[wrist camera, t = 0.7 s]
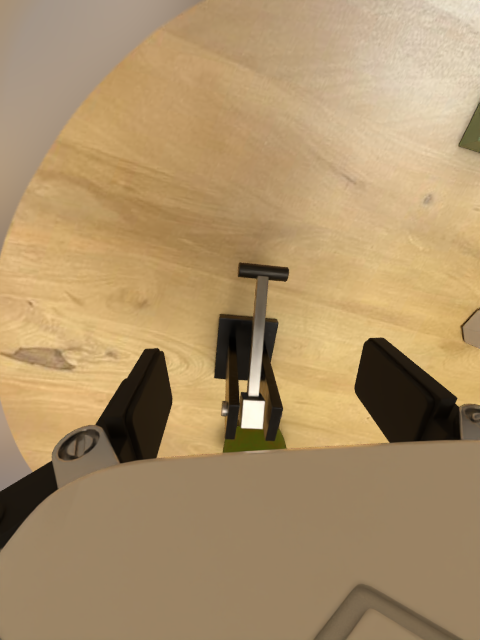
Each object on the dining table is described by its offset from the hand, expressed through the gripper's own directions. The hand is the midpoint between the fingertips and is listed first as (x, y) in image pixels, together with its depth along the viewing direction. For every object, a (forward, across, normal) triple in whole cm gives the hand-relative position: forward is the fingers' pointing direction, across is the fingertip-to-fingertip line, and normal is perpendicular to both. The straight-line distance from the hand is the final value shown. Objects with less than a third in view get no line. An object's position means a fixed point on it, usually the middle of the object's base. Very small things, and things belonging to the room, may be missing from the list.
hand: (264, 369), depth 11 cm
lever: (+13, -1, +6) cm, 14 cm away
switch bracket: (+21, 0, +12) cm, 24 cm away
